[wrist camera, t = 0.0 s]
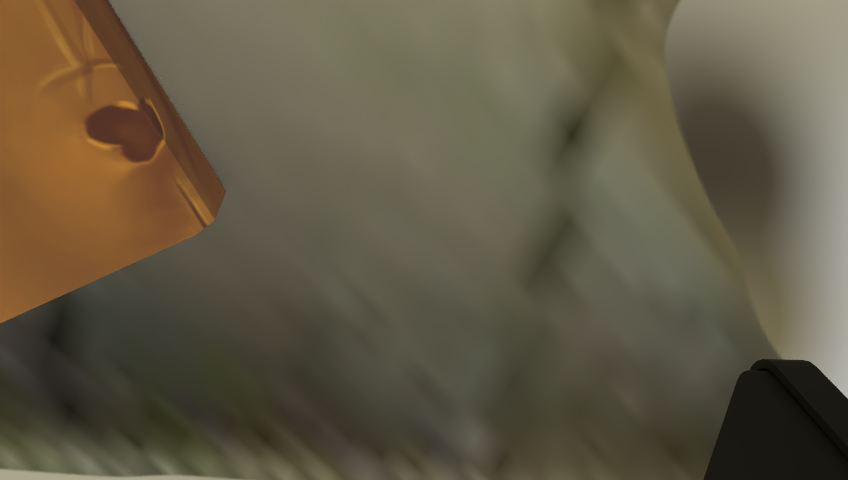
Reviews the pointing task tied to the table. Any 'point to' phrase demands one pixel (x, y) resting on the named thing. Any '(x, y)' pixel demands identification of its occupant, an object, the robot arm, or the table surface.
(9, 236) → the diary
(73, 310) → the table surface
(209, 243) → the table surface
